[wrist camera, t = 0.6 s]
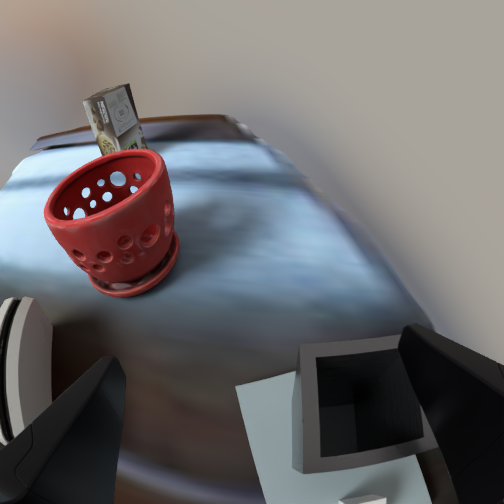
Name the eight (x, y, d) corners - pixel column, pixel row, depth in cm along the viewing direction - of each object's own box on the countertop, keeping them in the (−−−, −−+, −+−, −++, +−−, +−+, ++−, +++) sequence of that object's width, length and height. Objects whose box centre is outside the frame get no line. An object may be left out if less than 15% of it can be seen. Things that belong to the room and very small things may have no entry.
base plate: (425, 508, 11) (453, 512, 7) (288, 563, 10) (289, 583, 6) (364, 352, 21) (379, 328, 18) (238, 391, 20) (228, 374, 17)
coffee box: (150, 153, 53) (130, 82, 41) (127, 169, 49) (103, 94, 37) (125, 151, 56) (106, 87, 45) (104, 165, 53) (81, 100, 41)
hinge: (26, 333, 25) (-5, 277, 19) (57, 332, 27) (30, 275, 21) (27, 464, 14) (-27, 441, 8) (65, 468, 16) (18, 450, 9)
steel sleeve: (365, 459, 14) (438, 446, 7) (291, 468, 15) (303, 474, 7) (360, 395, 18) (417, 331, 10) (291, 401, 18) (299, 344, 11)
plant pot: (108, 331, 25) (41, 249, 17) (85, 258, 33) (43, 186, 24) (213, 268, 30) (185, 170, 21) (166, 212, 38) (140, 134, 29)
